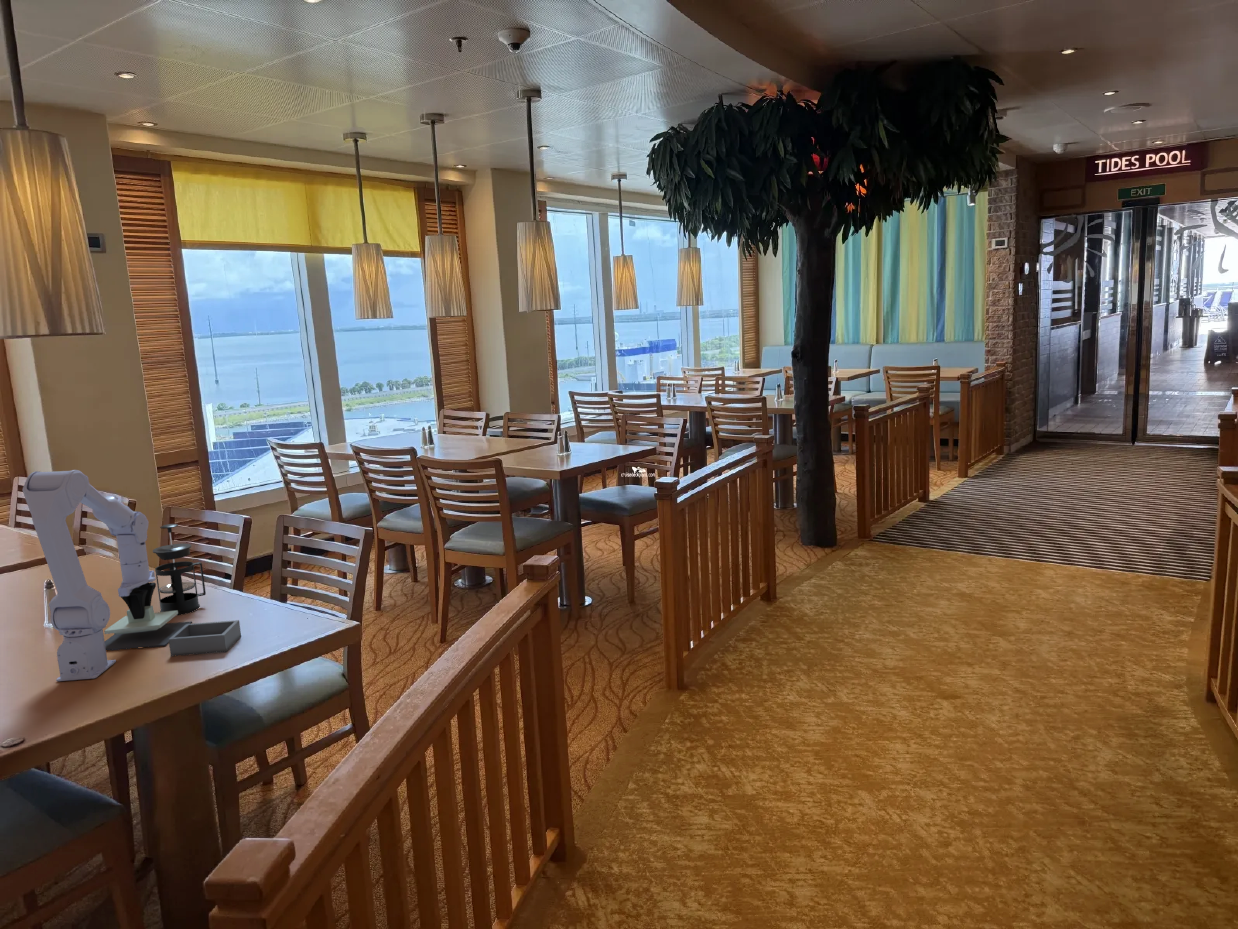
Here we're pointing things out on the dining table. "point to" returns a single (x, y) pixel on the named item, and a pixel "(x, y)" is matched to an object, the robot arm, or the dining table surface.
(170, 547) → the french press
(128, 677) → the dining table surface
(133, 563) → the robot arm
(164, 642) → the mat
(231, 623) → the tub
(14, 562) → the dining table surface
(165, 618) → the lid
